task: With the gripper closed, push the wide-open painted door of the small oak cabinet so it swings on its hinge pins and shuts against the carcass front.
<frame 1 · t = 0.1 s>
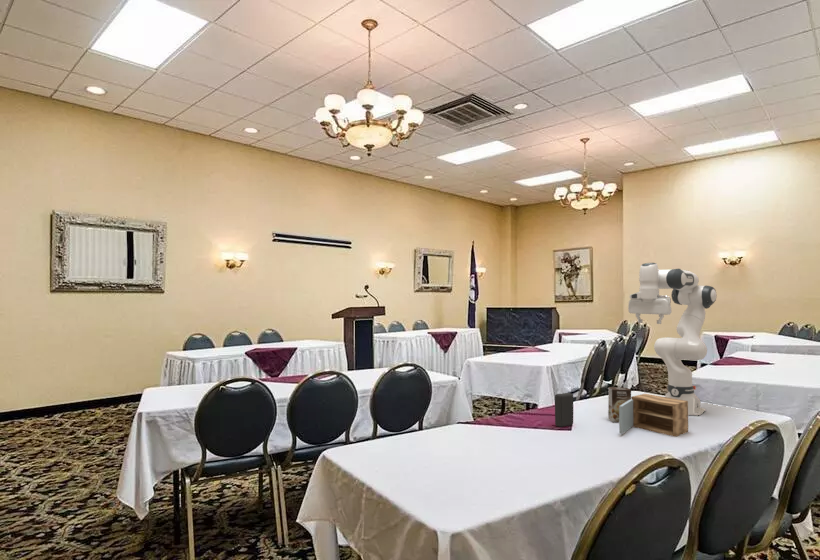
hand: (649, 323, 242), 48 cm above the table, fingers open, 8 cm apart
card reader: (564, 425, 233), on the table
cabinet: (659, 429, 226), on the table
door: (626, 415, 223), point 7 cm above the table, hinge at 75.0°
coffee box: (619, 421, 241), on the table
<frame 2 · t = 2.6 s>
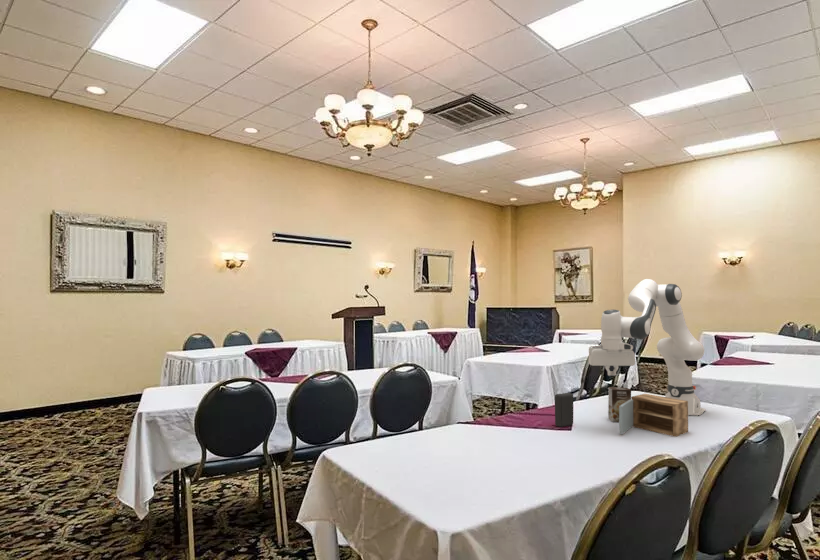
hand: (611, 375, 225), 25 cm above the table, fingers closed
nothing on the table moved.
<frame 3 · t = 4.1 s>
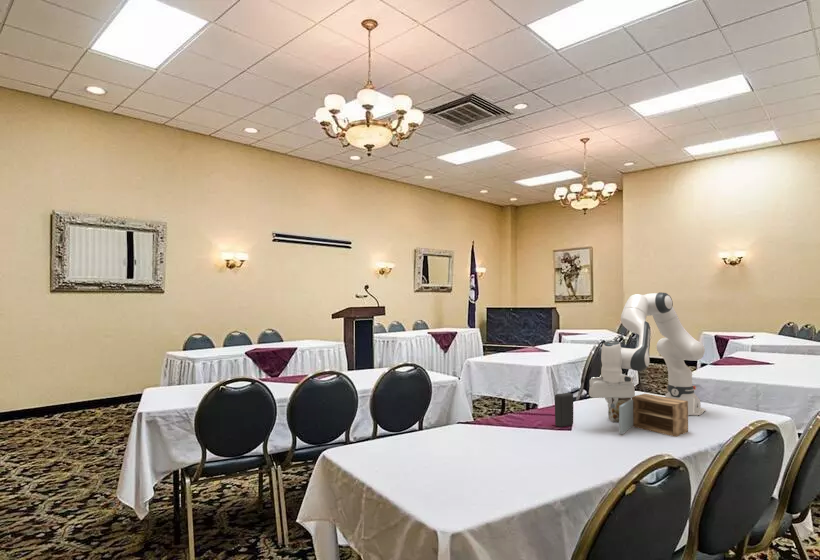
hand: (611, 407, 224), 11 cm above the table, fingers closed
nothing on the table moved.
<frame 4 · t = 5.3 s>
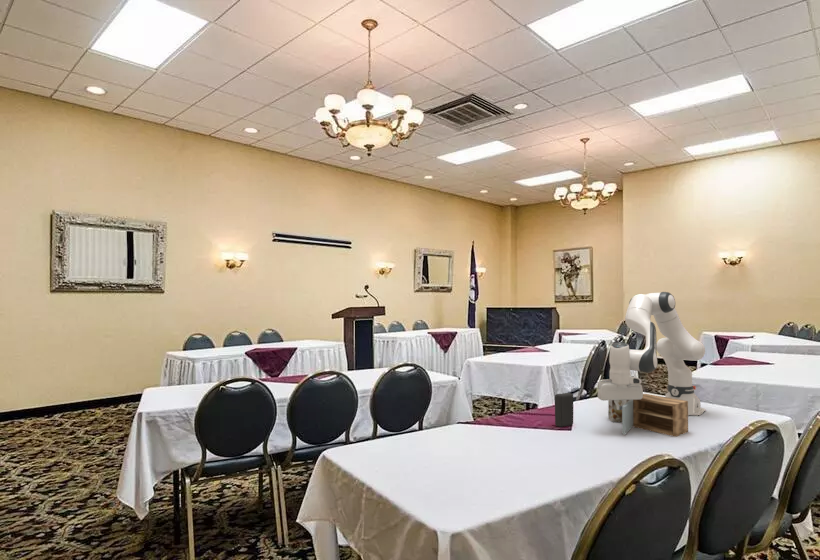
hand: (620, 409, 222), 10 cm above the table, fingers closed
door: (628, 416, 223), point 7 cm above the table, hinge at 71.1°, touching gripper
everything else where it was.
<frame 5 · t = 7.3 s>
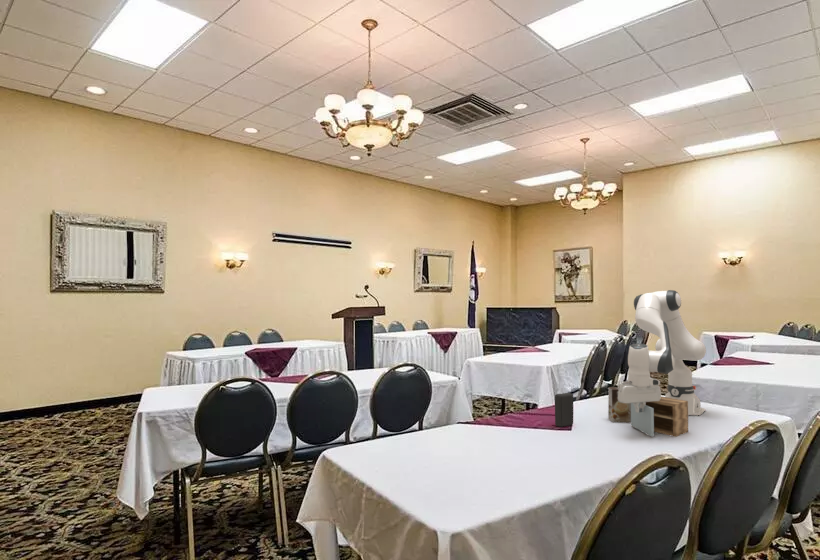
hand: (639, 412, 217), 10 cm above the table, fingers closed
door: (641, 416, 221), point 7 cm above the table, hinge at 34.3°, touching gripper
everything else where it was.
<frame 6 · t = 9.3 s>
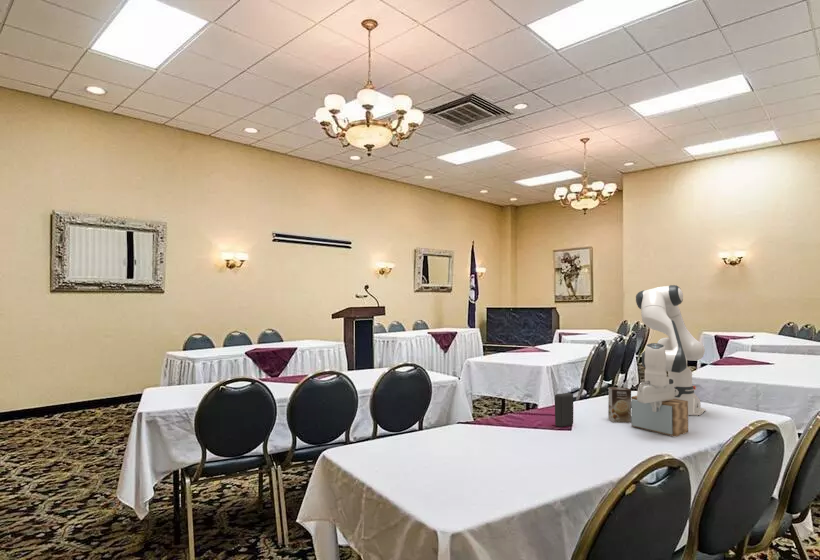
hand: (655, 411, 218), 10 cm above the table, fingers closed
door: (650, 416, 223), point 7 cm above the table, hinge at -0.2°, touching gripper
everything else where it was.
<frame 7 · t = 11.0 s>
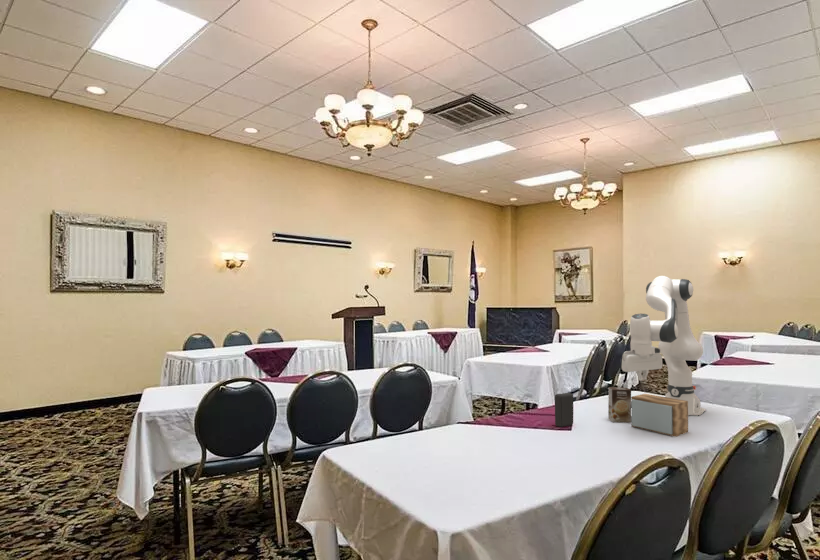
hand: (642, 380, 222), 23 cm above the table, fingers closed
door: (650, 416, 223), point 7 cm above the table, hinge at -0.2°
everything else where it was.
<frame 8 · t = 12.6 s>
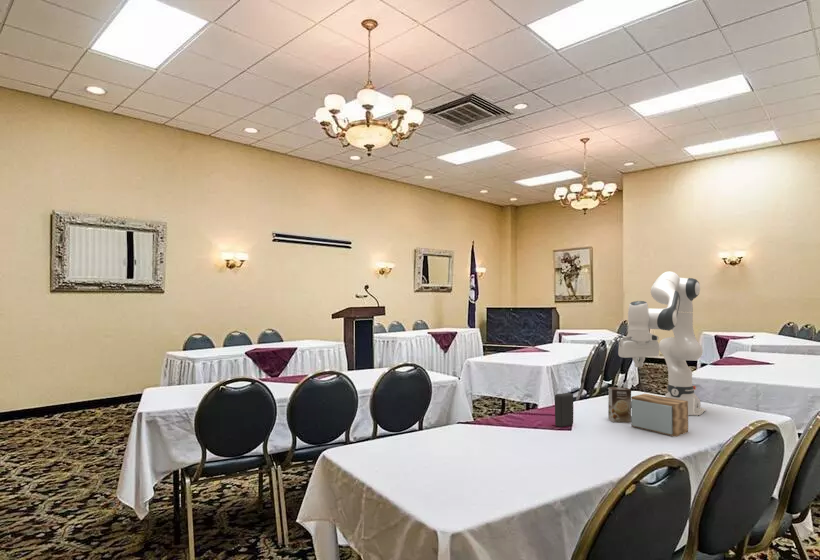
hand: (638, 366, 224), 29 cm above the table, fingers closed
nothing on the table moved.
at the end: door at +0° (first picture: +75°); door touching nothing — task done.
